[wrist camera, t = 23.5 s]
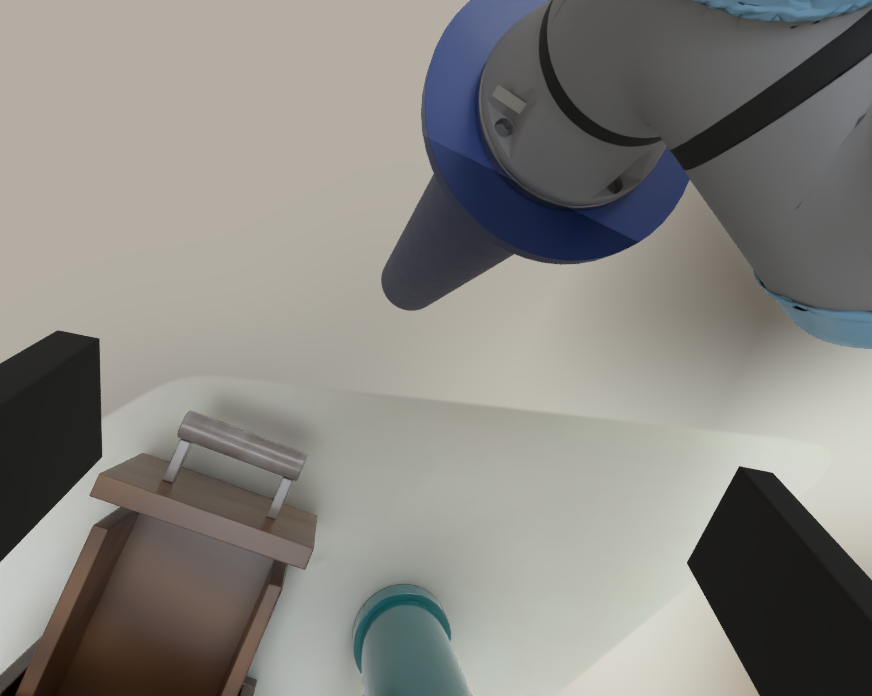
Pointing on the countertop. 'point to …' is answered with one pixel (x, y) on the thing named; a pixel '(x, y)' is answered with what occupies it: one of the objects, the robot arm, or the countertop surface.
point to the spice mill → (406, 646)
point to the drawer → (175, 575)
